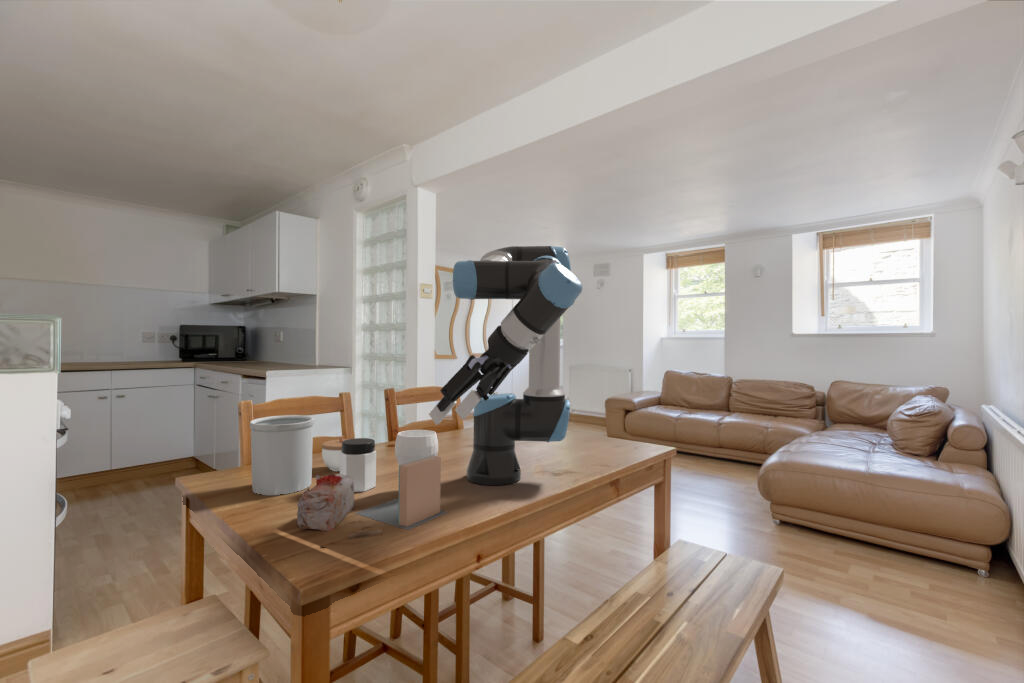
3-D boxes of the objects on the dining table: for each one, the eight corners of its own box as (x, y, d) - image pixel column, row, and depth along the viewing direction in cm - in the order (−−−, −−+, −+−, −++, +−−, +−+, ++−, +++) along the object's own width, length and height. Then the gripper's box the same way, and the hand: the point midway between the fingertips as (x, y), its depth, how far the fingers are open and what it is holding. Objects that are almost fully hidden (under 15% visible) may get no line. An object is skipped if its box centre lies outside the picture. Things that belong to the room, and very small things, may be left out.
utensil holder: (284, 499, 111) (285, 425, 112) (234, 493, 115) (235, 422, 116) (325, 482, 126) (326, 416, 126) (279, 477, 130) (280, 413, 130)
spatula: (380, 532, 93) (380, 527, 93) (382, 539, 89) (382, 533, 89) (320, 541, 88) (320, 536, 88) (320, 549, 85) (320, 543, 85)
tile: (440, 512, 102) (440, 457, 102) (406, 526, 94) (407, 466, 94) (431, 510, 104) (432, 455, 104) (398, 524, 95) (398, 464, 95)
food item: (334, 535, 91) (335, 484, 91) (293, 535, 91) (294, 484, 91) (357, 511, 105) (357, 466, 105) (321, 510, 104) (321, 466, 104)
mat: (448, 514, 102) (448, 512, 102) (407, 532, 92) (408, 529, 92) (396, 500, 111) (396, 498, 111) (354, 516, 101) (354, 513, 101)
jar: (380, 488, 120) (380, 442, 120) (348, 495, 115) (349, 446, 115) (366, 480, 127) (367, 436, 127) (336, 486, 122) (336, 440, 122)
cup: (413, 503, 110) (414, 439, 110) (385, 494, 116) (386, 433, 116) (446, 492, 118) (447, 432, 118) (418, 484, 124) (418, 427, 125)
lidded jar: (316, 473, 133) (316, 440, 134) (327, 464, 144) (328, 433, 144) (354, 473, 134) (355, 440, 134) (363, 464, 145) (363, 433, 145)
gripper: (495, 352, 77) (421, 439, 86) (553, 351, 94) (486, 424, 102) (470, 320, 80) (401, 407, 88) (530, 325, 97) (467, 398, 105)
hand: (447, 416), depth 95 cm, fingers open, 7 cm apart
